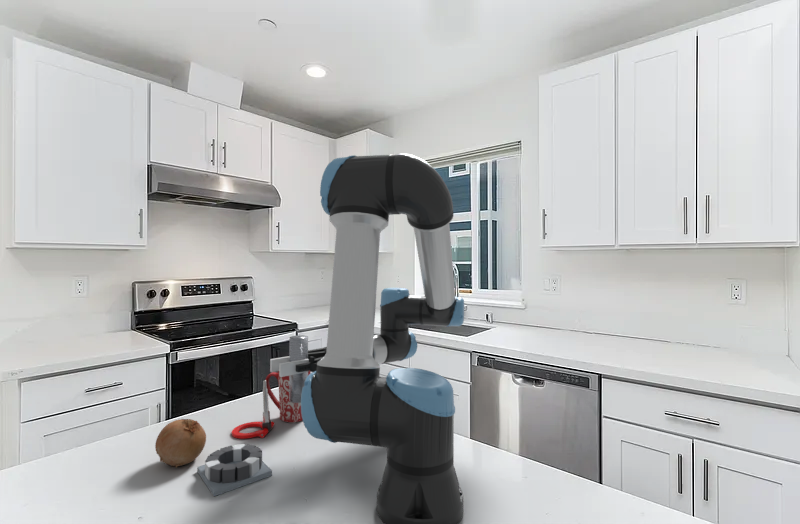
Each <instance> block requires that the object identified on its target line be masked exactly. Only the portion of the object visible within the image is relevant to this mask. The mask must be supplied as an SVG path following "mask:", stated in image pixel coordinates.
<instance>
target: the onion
mask: <svg viewBox="0 0 800 524" xmlns="http://www.w3.org/2000/svg"><path fill="white" fill-rule="evenodd" d="M206 442H207V434H206V431H205V429H204V428H203V427H202V425H201V424H200V423H199V422H198V421H197V420H195V419H191V418H185V419H184V418H181V419H176V420H174V421H171V422H169V423H167V424H166V425H165V426H164V427H163V428H161V431H160V432H159V434H158V436H157V437H156V439H155V445H154V447H155V451H156V452H155V453H156V454H157V455H158V457H159V463H164V464H166V465H168V466H171V467H175V468H178V467H181V466H184V465H187V464H188V465H189V464H190V463H192V462H193V461H195V460H196V459H197V458H199V456H200V455H201V454H202V453H203V450H204V448H205V447H206V446H205V445H206Z"/></svg>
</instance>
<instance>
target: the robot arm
mask: <svg viewBox="0 0 800 524" xmlns="http://www.w3.org/2000/svg"><path fill="white" fill-rule="evenodd" d="M319 188H320V189H319V190H320V191H319V193H320V195H319V196H320V197H321V200H320V203H321V206H322V209H323V212H324V213H325V214H327V215H328V216H329V222H330V223H331V224H332V226H333V227H334V228H335V230H336V231H335V244H334V255H333V267H332V280H331V290H330V291H331V292H330V303H329V313H328V314H329V316H328V330H327V337H326V338H327V339H326V340H327V341H326V346H324V347H321V348H320V347H319V348H314V349H308V359H303V360H297V361H291V362H289V356H282V357H276V358H275V357H274V358H270V360H269V365H270V366H269V368H270V369H269V372H270V373H272V372H276V373H277V372H278V371H279V377H284V376H289V375H295V374H300V373H305V372H309V370H310V374H309V375H308V376H307V378H306V380H305V382H304V385H305V386H304V387H303V389H302V394H301V414H302V419H303V420H302V422H303V426H304V427H305V429H306V431H307V432H308V434H309V435H310V436H312V438H314V439H318V440H325V441H328V442H330V443H335V444H336V443H344V444H354V445H363V446H373V447H381V448H386V465H385V468H384V471H383V475H382V479H381V482H380V485H379V486H378V489H377V492H376V512H377V513H376V514H377V515H378V518H379V519H380V520H381V521H382V523H383V524H459V523H460V522H461V520H462V518H463V515H464V495H463V491H462V488H461V487H460V483H459V479H458V474H457V472H456V468H455V466H454V457H455V456H454V454H455V453H454V451H455V449H454V447H455V446H454V443H455V442H454V441H455V440H454V439H455V438H454V435H455V434H454V433H455V432H454V418H455V414H456V406H455V400H454V397H455V396H454V387H453V386H452V383H450V381H449V380H448V379H447V378H445V377H444V376H442V375H440V374H439V373H436V372H433V371H430V370H426V369H422V368H415V367H406V368H405V367H398V368H393V369H391V370H390V371H389V372H388V373H387V375H386V376H380V371H381V365H383V364H388V363H394V362H401V361H403V360H408V359H410V358H412V357H414V356H415V355H416V353H417V350H418V341H417V340H416V335H415V333H413V332H412V331H410V329H409V327H410V325H412V326H413V325H415V326H416V325H419V326H433V327H434V326H435V327H446V328H447V327H448V328H449V327H461V326H463V324H464V321H465V301H464V298H463V297H462V296H461V297H460V296H459V297H458V296H456V289H455V279H454V278H455V276H454V266H453V265H454V264H453V252H452V240H451V239H452V238H451V229H450V228H451V227H450V223H451V222H452V220H453V219H454V203H453V199H452V198H453V197H452V195H451V193H450V191H449V188H448V186H447V184H446V182H445V181H444V179H443V177H442V176H441V175H440V173H439V172H438V171H437V170H436V169H435V168H434V167H433V166H432V165H431V164H429V162H427V161H426V160H424V159H422V158H420V157H418V156H416V155H413V154H410V153H396V154H378V155H377V154H375V155H374V154H373V155H355V154H354V155H349V156H345V157H344V156H343V157H342V156H341V157H337V158H334V159H332V161H330V162H329V163H328V164H327V165H326V167H325V169H324V171H323V174H322V177H321V180H320V186H319ZM401 214H402V215H406V219H407V222H408V225H410V226H411V227H412V228H413V230H414V237H415V243H416V250H417V254H418V262H419V269H420V275H421V280H422V287H423V294H424V296H423V295H410V291H409V289H408V288H406V287H405V288H404V287H403V288H402V287H387V288H386V287H385V288H383V289H382V290H381V293H380V305H379V307H380V309H379V310H380V312H379V313H380V331H379V332H380V334H374V333H375V324H376V323H375V318H376V303H377V289H378V287H377V286H378V274H379V273H378V271H379V258H380V257H379V255H380V241H381V240H380V239H381V233H382V232H383V230H385V229H386V228H387V227H388V226H389V219H390V217H389V216H390V215H391V216H393V215H401Z"/></svg>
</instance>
